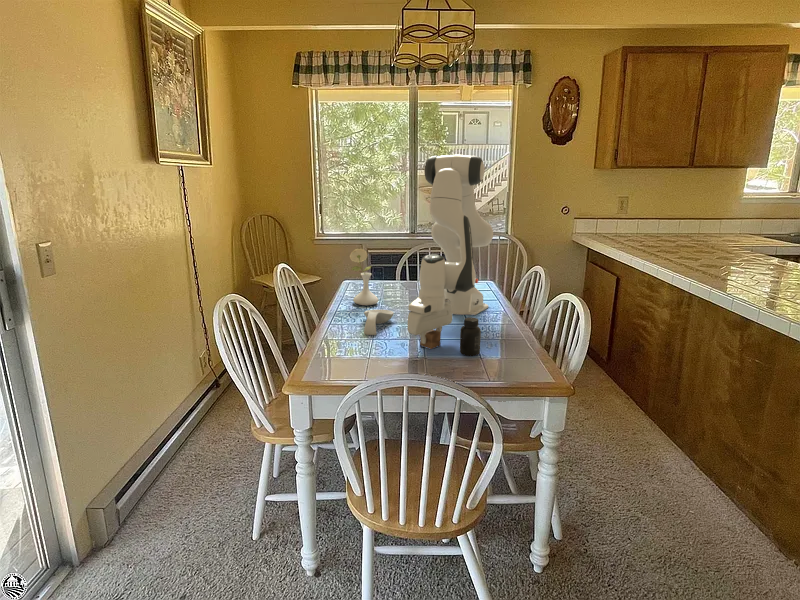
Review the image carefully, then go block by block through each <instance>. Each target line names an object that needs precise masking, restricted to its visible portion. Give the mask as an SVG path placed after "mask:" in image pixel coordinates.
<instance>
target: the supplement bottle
mask: <svg viewBox="0 0 800 600" xmlns="http://www.w3.org/2000/svg"><path fill="white" fill-rule="evenodd" d="M479 320H480V319H479V318H477V317H473V316H472V317H471V316H470V317H469V316H468V317H465V318H464V319H463V325H462V327H461V328H460V334H459V335H460V336H459V337H460V338H459V353H460V354H461V355H462V356H465V357H477V356H479V355H480V354H481V343H482V329H481V328H480V326H479V323H480V322H479Z"/></svg>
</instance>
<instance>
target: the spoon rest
mask: <svg viewBox="0 0 800 600" xmlns="http://www.w3.org/2000/svg"><path fill="white" fill-rule="evenodd" d="M363 314H364V316H365V318H366V321H365V325H364V329H363V335H366V336H377V324H378V325H380V324H385V323H387V322H388V321H390V320H391V319H392V318H393V316H394V315H395V313H394V311H392V310H390V309H389V310H388V309H369V310H365V311H364V312H363Z"/></svg>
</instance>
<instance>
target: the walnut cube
mask: <svg viewBox="0 0 800 600" xmlns="http://www.w3.org/2000/svg"><path fill="white" fill-rule="evenodd" d="M419 337H420V336H419ZM425 337H426V338H428V342H427V343H426V344H423V343H421V337H420V338H419V345H420V346H421V347H423V346H424V347H423V348H426V347H427V349H429V348H430V349H429V350H432V349H435V348H437V346H438V347H440V346H441V340H442V339H441V337H442V331H441V332H439V331H436V329H433V330H430V331H427V332H426V335H425Z"/></svg>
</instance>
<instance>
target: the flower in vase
mask: <svg viewBox="0 0 800 600" xmlns="http://www.w3.org/2000/svg"><path fill="white" fill-rule="evenodd" d="M349 258H350V261H351V262H355V263H359V264H361V263H362V262H364V261H366V260H367V258H368V252H367V251H366V249H364V248H355V249H353V250H352V251H351V252H350V254H349ZM372 266H373V265H369V266H366V267H364V269H363V268H362V266H361V265H359V266H357V265H356V266H353V267H352V268H351V269H350V270H351V271H355V272H356V271H360V270H361V271H362V272H361V273H359V274H360V276H361V277H362V282H363V288H362V290H361V291H360V292H359V293H357V295H355V296H354V297H353V300H352V301H353V303H354V304H356V305H360V306H372V305H375V304H377V303H379V301H380V300H379V298H378V297H377V296H376V294H374V293H373V292H372V291H371V290H370V289H369V282H370V278H371V276H372V273H371V272H367V271H369V270H370V269H372Z"/></svg>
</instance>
